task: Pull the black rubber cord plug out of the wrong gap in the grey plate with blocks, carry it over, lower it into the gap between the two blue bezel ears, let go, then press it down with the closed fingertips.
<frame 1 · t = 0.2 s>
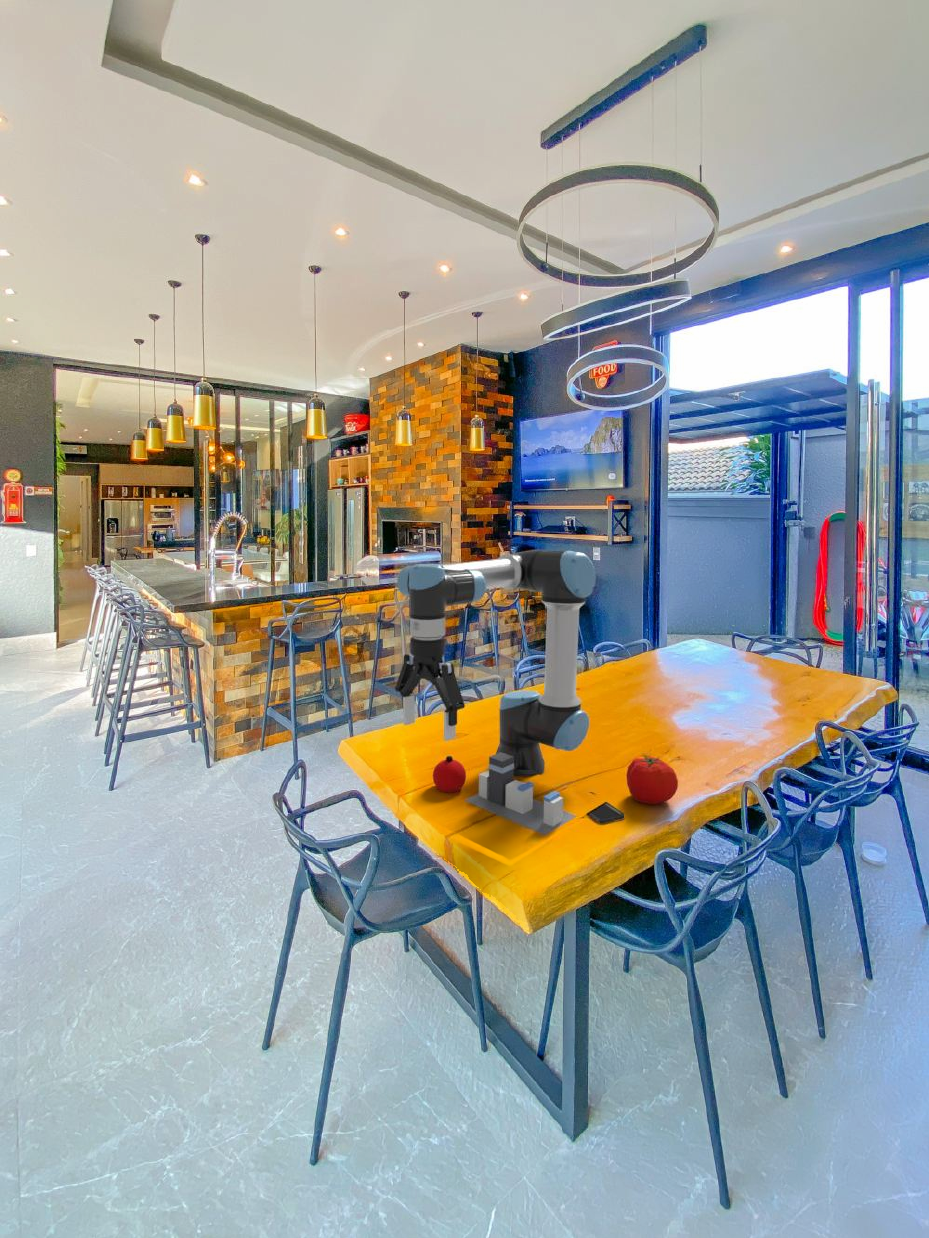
hand: (428, 731, 141), 28 cm above the table, fingers open, 13 cm apart
tomato: (650, 801, 169), on the table
ornament: (449, 792, 174), on the table
plug: (501, 800, 167), point 1 cm above the table, touching grey plate with blocks
phone: (595, 810, 165), on the table
grey plate with blocks: (518, 811, 163), on the table
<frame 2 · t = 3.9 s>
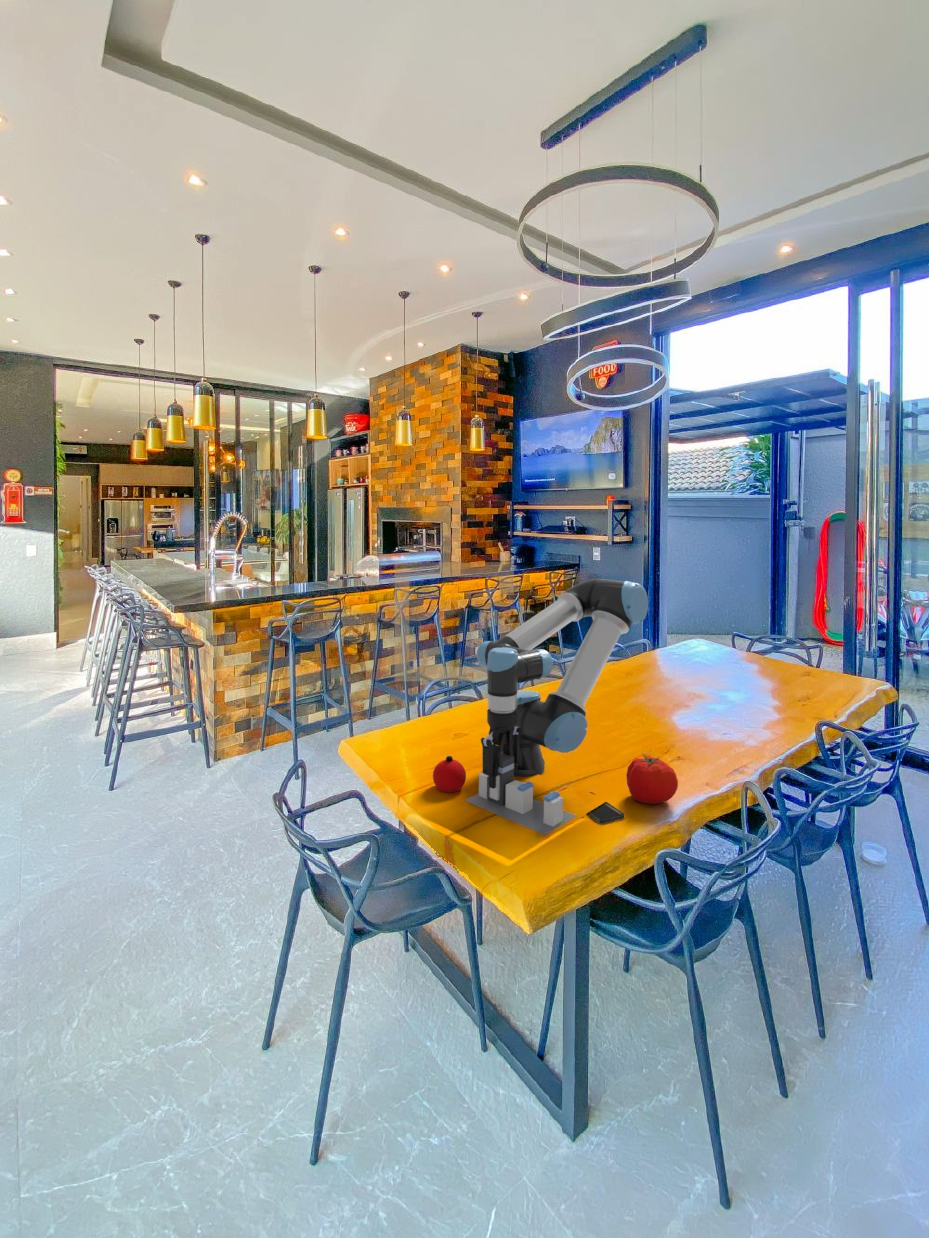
hand: (501, 795, 166), 2 cm above the table, fingers closed on plug, 4 cm apart
plug: (501, 800, 167), point 1 cm above the table, touching grey plate with blocks, gripper
everything else where it was.
when the fingers open (4 cm above the table, at t = 8.9 s): plug drops 1 cm, resting on grey plate with blocks.
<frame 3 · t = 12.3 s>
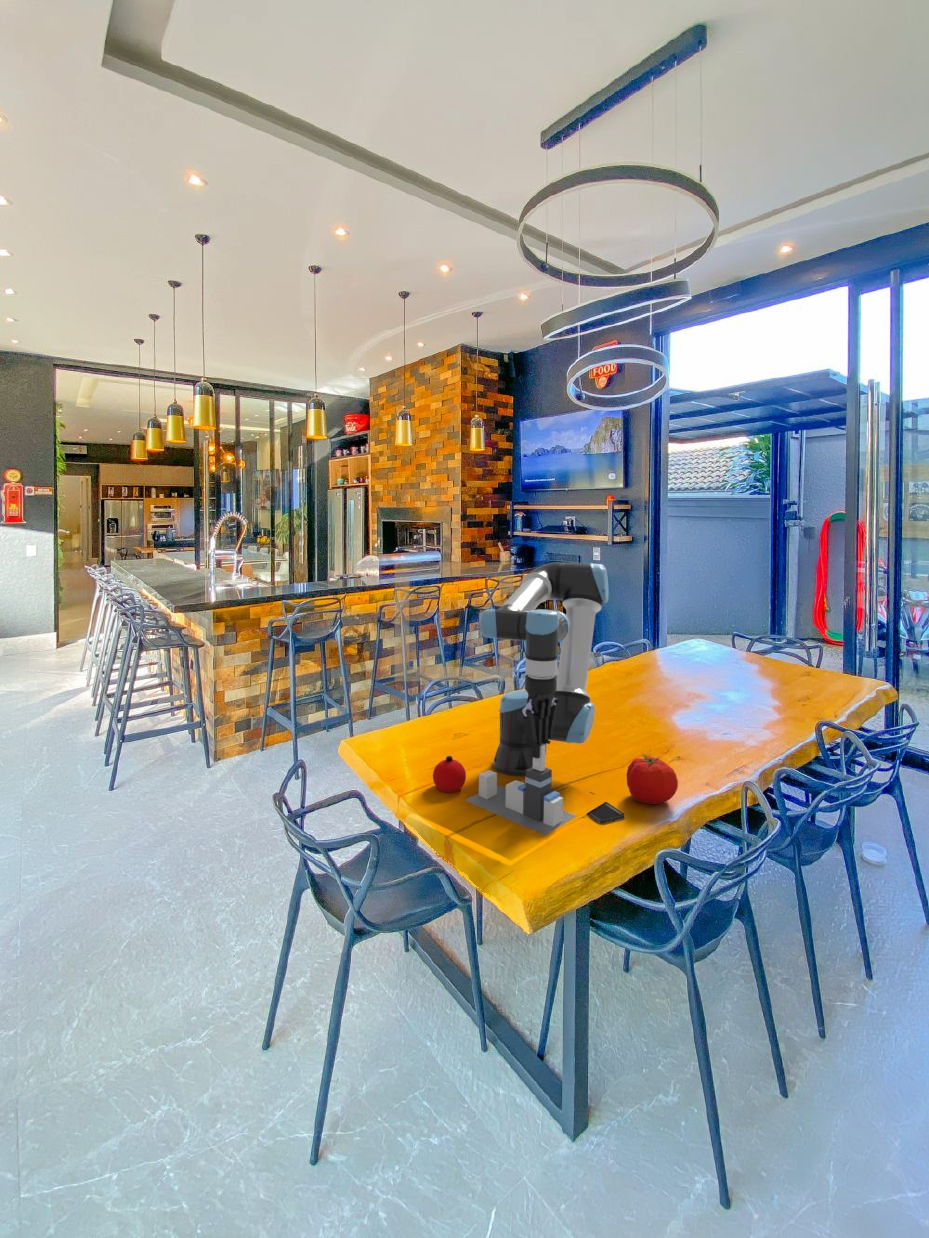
hand: (538, 768, 156), 13 cm above the table, fingers closed
plug: (537, 815, 158), point 1 cm above the table, touching grey plate with blocks, gripper
everything else where it was.
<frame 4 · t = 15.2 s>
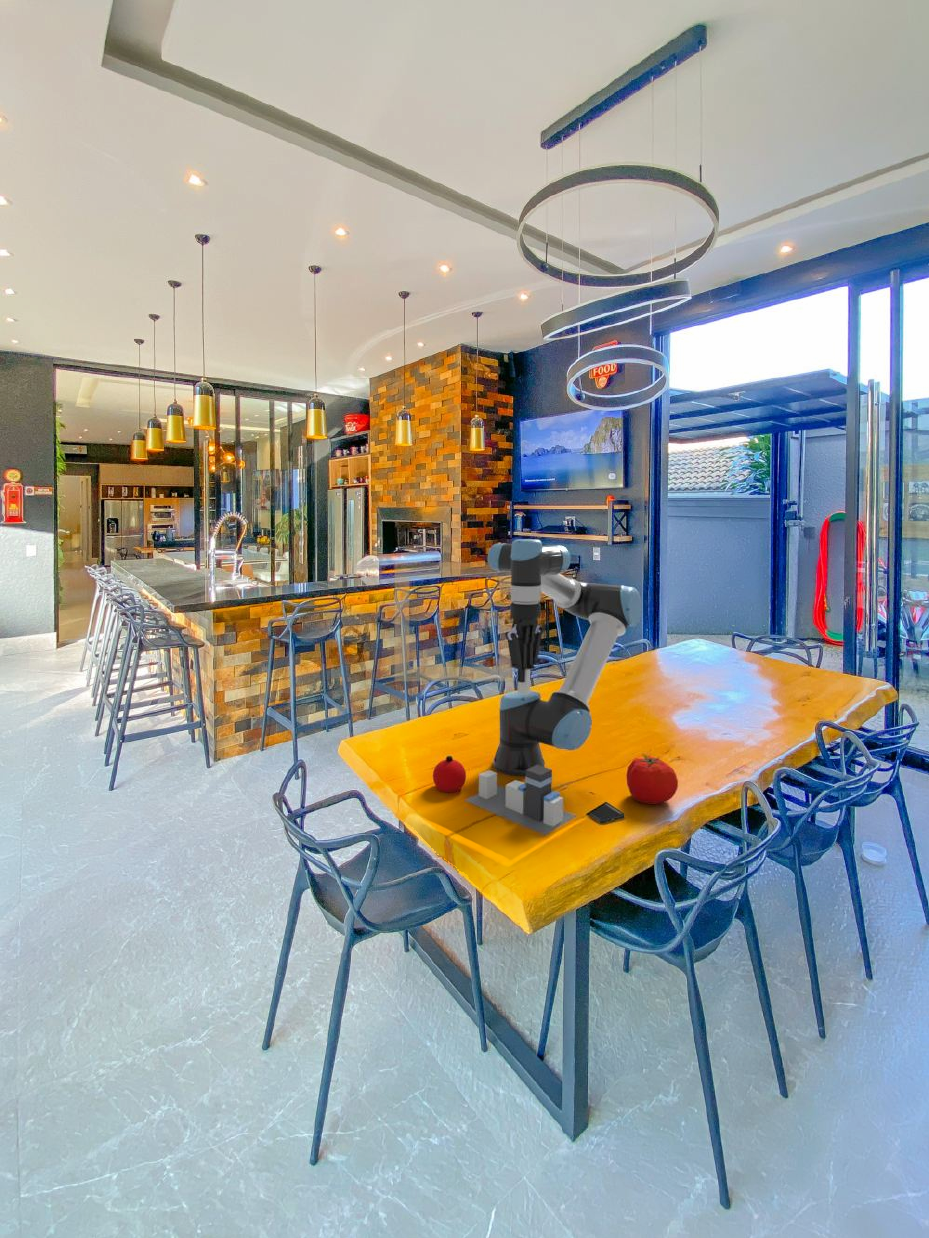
hand: (523, 693, 163), 29 cm above the table, fingers closed
plug: (537, 815, 158), point 1 cm above the table, touching grey plate with blocks
everything else where it was.
at the end: plug 0.0 cm from the target spot on the grey plate with blocks, point 1.0 cm above the grey plate with blocks's base; plug tilted 0°; the gripper is holding nothing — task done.
